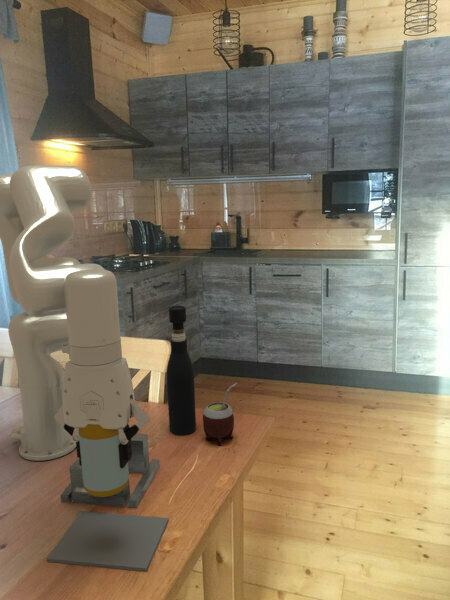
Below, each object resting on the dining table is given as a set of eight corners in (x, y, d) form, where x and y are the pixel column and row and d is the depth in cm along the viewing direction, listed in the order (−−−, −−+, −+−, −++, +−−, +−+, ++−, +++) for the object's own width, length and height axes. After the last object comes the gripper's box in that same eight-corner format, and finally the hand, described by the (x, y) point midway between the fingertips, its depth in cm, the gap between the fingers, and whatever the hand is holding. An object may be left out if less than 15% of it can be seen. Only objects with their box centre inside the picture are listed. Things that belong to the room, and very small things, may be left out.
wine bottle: (164, 433, 117) (158, 309, 112) (176, 422, 123) (170, 304, 117) (189, 437, 115) (184, 311, 109) (200, 425, 121) (195, 305, 115)
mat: (47, 561, 77) (46, 558, 76) (81, 513, 88) (81, 510, 88) (146, 571, 74) (146, 568, 74) (168, 520, 86) (168, 518, 85)
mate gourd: (203, 433, 117) (201, 372, 114) (236, 431, 118) (235, 371, 115) (204, 448, 110) (201, 384, 107) (239, 446, 110) (238, 382, 107)
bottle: (118, 501, 75) (111, 407, 72) (76, 496, 76) (67, 405, 73) (135, 476, 82) (129, 389, 79) (96, 472, 83) (88, 387, 80)
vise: (54, 510, 89) (50, 474, 88) (93, 461, 106) (91, 431, 104) (131, 516, 87) (129, 480, 86) (159, 465, 103) (157, 434, 102)
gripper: (29, 358, 72) (42, 472, 76) (143, 361, 70) (150, 479, 73) (55, 344, 80) (65, 448, 83) (158, 346, 77) (164, 453, 80)
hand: (105, 461), depth 78 cm, fingers closed on bottle, 5 cm apart
